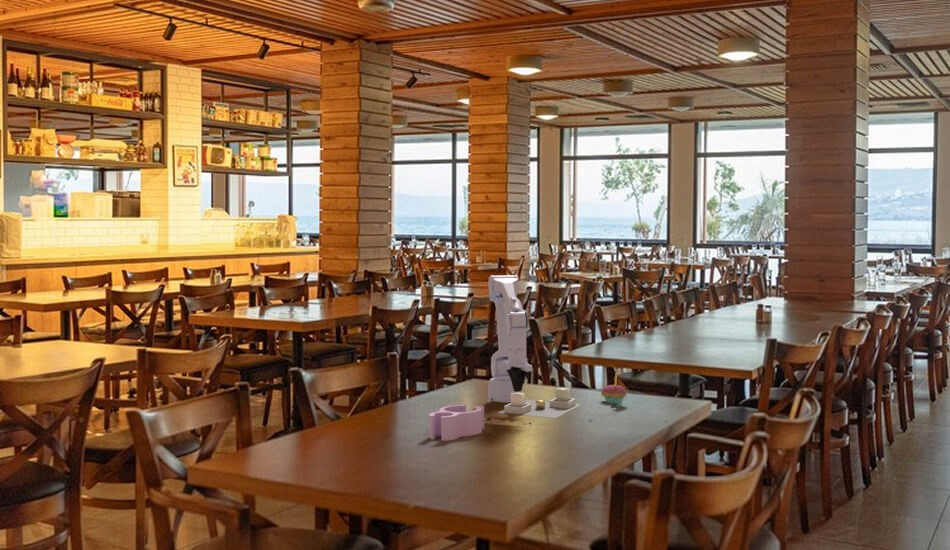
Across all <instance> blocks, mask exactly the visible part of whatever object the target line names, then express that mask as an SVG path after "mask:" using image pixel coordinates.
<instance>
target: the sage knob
mask: <svg viewBox="0 0 950 550" xmlns="http://www.w3.org/2000/svg"><path fill="white" fill-rule="evenodd" d="M555 398H556V400H557V401H568V400H569V398H570V388H568V387H556V388H555Z"/></svg>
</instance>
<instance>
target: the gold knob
mask: <svg viewBox="0 0 950 550" xmlns="http://www.w3.org/2000/svg"><path fill="white" fill-rule="evenodd" d="M535 401H536V409H545V401H546V400H543V399H537V400H535Z"/></svg>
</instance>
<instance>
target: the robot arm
mask: <svg viewBox="0 0 950 550" xmlns="http://www.w3.org/2000/svg"><path fill="white" fill-rule="evenodd" d="M487 285H488V296H489V300H490V301H491V302H492V303H494V306H495V311H496V312H495V313H496V327H497V329H496V331H497V341H498V350H496V351H495V352H494V353H493V354H492V356H491V358H490V361H491V363H490V372H491V376H492V377H491V378H490V379H489V381H488V385H487V388H488V389H487V393H488V395H487V396H488V397H487V400H488V401H487V403H488V404H489V403H491V402H498V403H511V393H520V392H522V391H523V386H524V382H525V379H526V376H527V375H528V373H529V372H533V365H532V364H529V363H528V362H527V329H528V327H529V314H528V311H527V310H525V309H524V308H523V306H522V303H521V300H520V299H519V298H518V293H519V289H520V278H519V276H518V275H517V274H507V275H505V274H504V275H503V274H501V275H498V274H497V275H493V274H490V275H489V277H488V284H487Z"/></svg>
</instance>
